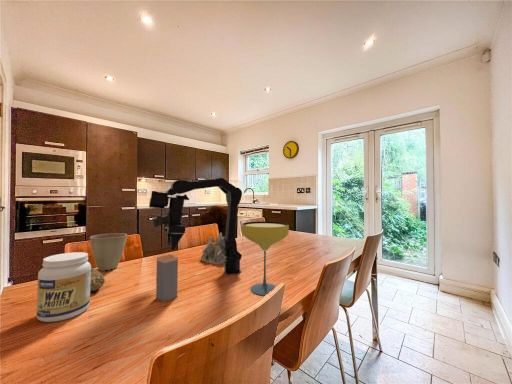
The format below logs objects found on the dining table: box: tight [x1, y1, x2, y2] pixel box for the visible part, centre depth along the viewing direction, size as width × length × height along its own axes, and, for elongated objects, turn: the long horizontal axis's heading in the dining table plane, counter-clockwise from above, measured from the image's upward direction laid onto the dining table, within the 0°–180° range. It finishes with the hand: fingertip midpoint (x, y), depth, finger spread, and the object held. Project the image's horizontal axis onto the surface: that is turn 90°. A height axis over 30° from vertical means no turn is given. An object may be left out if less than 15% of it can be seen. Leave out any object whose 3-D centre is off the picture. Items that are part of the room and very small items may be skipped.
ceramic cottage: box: [200, 232, 227, 265], centre depth 121 cm, size 16×16×15 cm
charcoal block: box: [155, 254, 179, 303], centre depth 77 cm, size 5×5×14 cm
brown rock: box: [90, 267, 106, 292], centre depth 85 cm, size 13×8×20 cm
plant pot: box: [89, 232, 128, 272], centre depth 106 cm, size 15×15×16 cm
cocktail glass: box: [241, 220, 290, 297], centre depth 84 cm, size 18×18×25 cm
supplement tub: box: [36, 251, 92, 323], centre depth 67 cm, size 12×12×17 cm
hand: (170, 247), depth 91 cm, fingers open, 9 cm apart
